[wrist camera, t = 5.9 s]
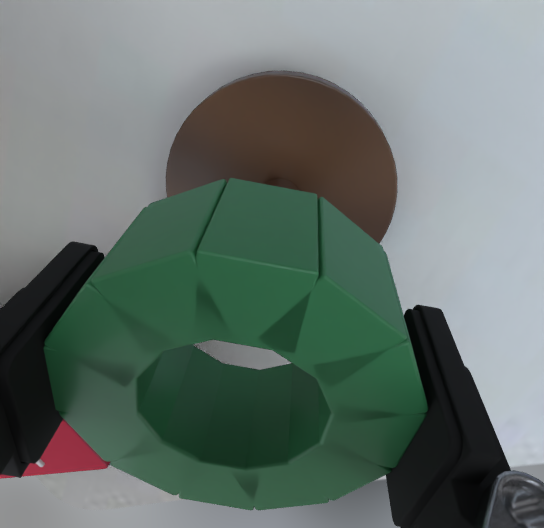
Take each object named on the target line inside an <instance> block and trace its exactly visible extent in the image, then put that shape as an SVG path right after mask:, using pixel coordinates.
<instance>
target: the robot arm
mask: <svg viewBox="0 0 544 528" xmlns="http://www.w3.org/2000/svg"><path fill="white" fill-rule="evenodd" d="M103 259H104V254H103V253H100V252H98V249H97V247H96V246H94V245H89V244H83V243H78V242H70V243H69V244H67V245H66V246H65V247H64V248H63V249H62V251H61V252H60V253H59V254H58V255H57V256H56V257H55V258H54V259H53V260H52V261H51V262H50V263H49V264H48V265H47V266H46V267H45V268H44V269H43V270H42V271H41V272H40V273H39V274H38V275H37V276H36V277H35V278H34V279H33V280H32V281H31V282H30V283H29V284H28V285H27V286H26V287H25V288H22V289H21V290H20V291H19V292H17V293H16V294H15V295H14V296H13V297H12V298H11V299H10V300H9V301H8V302H7V303H6V304H5V305H4V306H3V307H2V308H1V309H0V475H1V474H2V475H8V476H14V477H20V478H21V477H22V475H23V473H24V472H25V470H26V468H27V467H28V465H29V463H33V464H35V463H36V462H37V461H38V460H39V459H40V458H41V456H42V455H43V453H44V451H45V450H46V448H47V446H48V444H49V443H50V441H51V439H52V438H53V436H54V434H55V432H56V431H57V429H58V427H59V426H60V424H61V422H62V420H63V418H62V417H61V416H60V414H59V411H57V410H56V409H55V404H54V399H53V394H52V389H51V384H50V379H49V374H48V369H47V364H46V359H45V354H44V346H45V344H44V342H45V339H46V338H47V336H48V335H49V333H50V332H51V331H52V329H53V328H54V326H55V325H56V323H57V322H58V321H59V319H60V318H61V316H62V315H63V314H64V312H65V311H66V309H67V308H68V306H69V305H70V304H71V302H72V301H73V299H74V298H75V297H76V295H77V294H78V292H79V291H80V289H81V288H82V287H83V285H84V284H85V282H86V281H87V280H88V279H89V277H90V276H91V275H92V274H93V272H94V271H95V270H96V268H97V267H98V266H99V265H100V263H101V262H102V261H103ZM404 319H405V323H406V326H407V330H408V333H409V337H410V341H411V344H412V348H413V352H414V355H415V359H416V363H417V367H418V370H419V374H420V378H421V382H422V385H423V389H424V393H425V397H426V400H427V404H428V411H427V412H426V418H425V419H424V421H423V423H422V424H421V426H420V428H419V430H418V431H417V433H416V435H415V436H414V438H413V440H412V441H411V443H410V445H409V446H408V448H407V450H406V451H405V453H404V455H403V456H402V458H401V460H400V461H399V463H398V465H397V466H396V467H395V468H392V471H391V472H390V473H388V474H386V479H387V486H388V492H389V499H390V506H391V512H392V518H393V522H394V524H395V525H396V526H400V527H401V528H544V483H543V482H542V481H540V480H539V479H537V478H535V477H533V476H531V475H529V474H527V473H524V472H519V471H514V470H513V471H511V470H510V467H509V465H508V462H507V460H506V457H505V455H504V453H503V450H502V448H501V445H500V443H499V440H498V438H497V436H496V433H495V431H494V428H493V426H492V423H491V421H490V419H489V416H488V414H487V411H486V409H485V406H484V404H483V402H482V399H481V397H480V394H479V392H478V389H477V387H476V385H475V382H474V380H473V377H472V375H471V373H470V371H469V370H468V368H466V367H465V366H464V364H463V361H462V359H461V356H460V354H459V351H458V349H457V347H456V344H455V342H454V339H453V337H452V334H451V332H450V329H449V327H448V324H447V322H446V319H445V317H444V314H443V312H442V310H441V309H439V308H433V307H428V306H422V305H416V306H415V307H414V308H413V310H412V309H408V310H406V312H405V314H404Z"/></svg>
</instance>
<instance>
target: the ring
mask: <svg viewBox="0 0 544 528" xmlns="http://www.w3.org/2000/svg"><path fill="white" fill-rule="evenodd" d="M209 340H219V341H224V342H230V343H235V344H241V345H247V346H252V347H258V348H263V349H269V350H273V351H275V352H276V353H278V354H279V355H281V356H282V357H284V358H285V359H287V360H288V361H290V362H291V364H287V365H282V366H277V367H272V368H267V369H262V370H257V369H252V368H246V367H241V366H235V365H229V364H224V363H221V362H220V361H218V360H216V359H215V358H213V357H211V356H210V355H208V354H206V353H205V352H203V351H202V350H200V349H198V348H197V347H195V346H194V345H193V344H196V343H200V342H205V341H209ZM44 344H45V346H44V354H45V359H46V364H47V369H48V374H49V379H50V384H51V389H52V394H53V399H54V404H55V409H56V410H57V411H59V414H60V416H61V417H62V418H63V419H64V420H65V421H66V422H67V423H68V424H69V425H70V426H71V427H72V428H73V429H74V430H75V431H76V432H77V433H78V434H79V435H80V436H81V437H82V438H83V439H84V440H85V441H86V443H87V444H88V445H89V446H90V447H91V448H92V449H93V450H94V451H95V452H96V453H97V454H98V455H99V456H100V457H101V458H102V459H103V460H104V461H107V462H109V461H110V464H111V465H112V466H113V467H115V468H117V469H120V470H122V471H124V472H126V473H128V474H130V475H132V476H134V477H136V478H138V479H140V480H143V481H145V482H147V483H149V484H151V485H153V486H155V487H157V488H159V489H161V490H163V491H166V492H168V493H170V494H172V495H177V494H179V498H182V499H189V500H194V501H200V502H206V503H212V504H217V505H223V506H229V507H235V508H241V509H246V510H253V509H254V507H255V509H256V510H266V509H275V508H284V507H293V506H303V505H312V504H320V503H321V504H322V503H328V502H329V499H330V500H336V499H338V498H340V497H342V496H344V495H346V494H348V493H350V492H352V491H354V490H356V489H358V488H360V487H362V486H364V485H366V484H368V483H370V482H372V481H374V480H376V479H378V478H380V477H382V476H384V475H386V474H388V473H390V472H391V471H392V468H395V467H396V466H397V465H398V463H399V461H400V460H401V458H402V456H403V455H404V453H405V451H406V450H407V448H408V446H409V445H410V443H411V441H412V440H413V438H414V436H415V435H416V433H417V431H418V430H419V428H420V426H421V424H422V423H423V421H424V419H425V418H426V412H427V411H428V404H427V400H426V397H425V393H424V389H423V385H422V382H421V378H420V374H419V370H418V367H417V363H416V359H415V355H414V352H413V348H412V344H411V341H410V337H409V333H408V330H407V326H406V323H405V319H404V315H403V312H402V308H401V305H400V301H399V297H398V294H397V290H396V287H395V283H394V280H393V276H392V272H391V269H390V265H389V262H388V258H387V254H386V253H385V252H384V251H383V247H382V246H381V245H380V244H379V243H377V242H376V241H375V240H374V239H373V238H371V237H370V236H369V235H368V234H367V233H365V232H364V231H363V230H362V229H361V228H359V227H358V226H357V225H356V224H355V223H353V222H352V221H351V220H350V219H349V218H347V217H346V216H345V215H344V214H343V213H341V212H340V211H339V210H338V209H337V208H335V207H334V206H333V205H332V204H331V203H329V202H328V201H327V200H326V199H325V198H323V197H320V198H319V199H318V200H317V194H315V193H309V192H304V191H299V190H293V189H288V188H283V187H277V186H272V185H267V184H261V183H256V182H251V181H245V180H240V179H235V178H230V179H229V181H228V183H227V181H226V180H225V179H221V180H218V181H215V182H212V183H209V184H206V185H203V186H200V187H197V188H194V189H192V190H189V191H186V192H183V193H180V194H177V195H174V196H171V197H168V198H165V199H162V200H159V201H156V202H153V203H150V204H149V206H148V207H145V208H143V210H142V211H141V212H140V214H139V215H138V216H137V217H136V219H135V220H134V221H133V222H132V224H131V225H130V226H129V228H128V229H127V230H126V231H125V233H124V234H123V235H122V236H121V238H120V239H119V240H118V242H117V243H116V244H115V245H114V247H113V248H112V249H111V251H110V252H109V253H108V254H107V256H106V257H105V258H104V259H103V261H102V262H101V263H100V265H99V266H98V267H97V268H96V270H95V271H94V272H93V274H92V275H91V276H90V277H89V279H88V280H87V281H86V282H85V284H84V285H83V287H82V288H81V289H80V291H79V292H78V294H77V295H76V297H75V298H74V299H73V301H72V302H71V304H70V305H69V306H68V308H67V309H66V311H65V312H64V314H63V315H62V316H61V318H60V319H59V321H58V322H57V323H56V325H55V326H54V328H53V329H52V331H51V332H50V333H49V335H48V336H47V338H46V339H45V342H44Z"/></svg>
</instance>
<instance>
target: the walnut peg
mask: <svg viewBox="0 0 544 528" xmlns="http://www.w3.org/2000/svg"><path fill="white" fill-rule="evenodd" d="M230 178H235V179H240V180H245V181H251V182H256V183H261V184H267V185H272V186H277V187H283V188H288V189H293V190H299V191H304V192H309V193H315V194H317V200H318V199H319V198H320V197H323V198H325V199H326V200H327V201H328V202H329V203H331V204H332V205H333V206H334V207H335V208H337V209H338V210H339V211H340V212H341V213H343V214H344V215H345V216H346V217H347V218H349V219H350V220H351V221H352V222H353V223H355V224H356V225H357V226H358V227H359V228H361V229H362V230H363V231H364V232H365V233H367V234H368V235H369V236H370V237H371V238H373V239H374V240H375V241H376V242H377V243H380V242H381V240H382V239H383V237H384V235H385V234H386V232H387V229H388V227H389V225H390V222H391V220H392V217H393V213H394V210H395V205H396V198H397V173H396V167H395V161H394V158H393V155H392V152H391V148H390V146H389V144H388V142H387V140H386V138H385V136H384V133H383V132H382V130H381V128H380V126H379V125H378V123H377V122H376V120H375V119H374V117H373V116H372V114H371V113H370V112H369V111H368V110H367V109H366V108H365V107H364V105H363V104H362V103H361V102H360V101H358V100H357V99H356V98H355V97H354V96H352V95H351V94H350V93H349V92H347V91H345V90H344V89H342V88H341V87H339V86H337V85H336V84H334V83H332V82H329V81H327V80H325V79H322V78H320V77H317V76H313V75H309V74H306V73H301V72H292V71H267V72H261V73H255V74H251V75H248V76H245V77H242V78H239V79H236V80H234V81H232V82H230V83H228V84H226V85H224V86H222V87H221V88H219V89H218V90H216V91H215V92H213V93H212V94H211V95H209V96H208V97H207V98H206V99H205V100H204V101H203V102H202V103H201V104H199V105H198V106H197V107H196V108H195V109H194V110H193V111H192V113H191V114H190V115H189V116H188V118H187V119H186V120H185V121H184V123H183V124H182V126H181V128H180V130H179V131H178V133H177V135H176V137H175V139H174V142H173V144H172V147H171V150H170V154H169V158H168V162H167V170H166V192H167V198H168V197H171V196H174V195H177V194H180V193H183V192H186V191H189V190H192V189H194V188H197V187H200V186H203V185H206V184H209V183H212V182H215V181H218V180H221V179H225V180H226V181H227V183H228V181H229V179H230Z"/></svg>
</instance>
